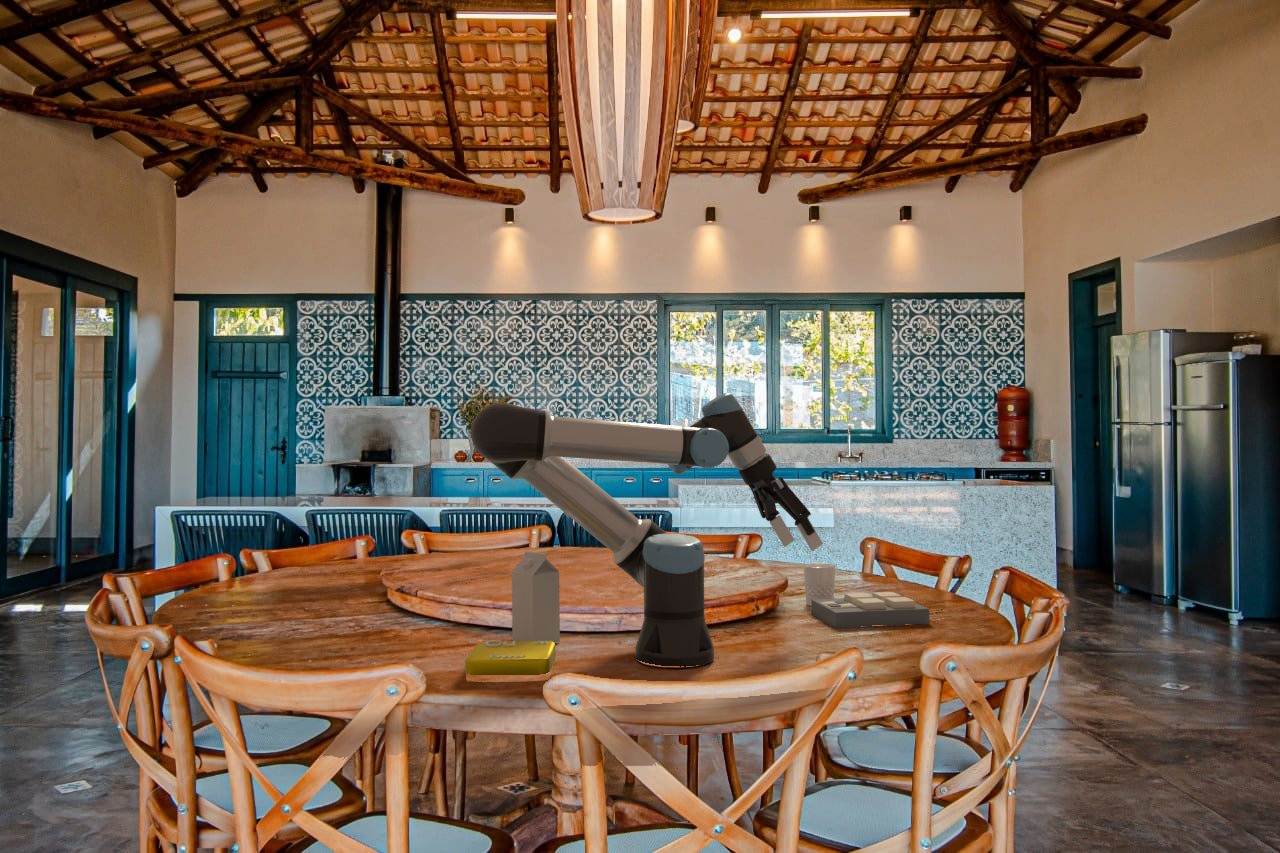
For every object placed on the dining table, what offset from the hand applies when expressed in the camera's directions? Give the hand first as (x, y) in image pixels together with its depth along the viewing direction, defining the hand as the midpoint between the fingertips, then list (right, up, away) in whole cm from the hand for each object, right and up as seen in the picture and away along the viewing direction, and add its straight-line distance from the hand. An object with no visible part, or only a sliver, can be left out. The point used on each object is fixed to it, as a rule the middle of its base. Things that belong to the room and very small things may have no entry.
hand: (803, 545), depth 190 cm
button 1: (+17, -17, +20) cm, 31 cm away
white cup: (+10, -20, +34) cm, 41 cm away
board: (+18, -19, +16) cm, 31 cm away
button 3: (+24, -17, +21) cm, 35 cm away
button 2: (+18, -17, +13) cm, 27 cm away
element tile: (-58, -20, -26) cm, 67 cm away
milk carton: (-57, -20, -5) cm, 60 cm away
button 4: (+25, -17, +14) cm, 33 cm away
